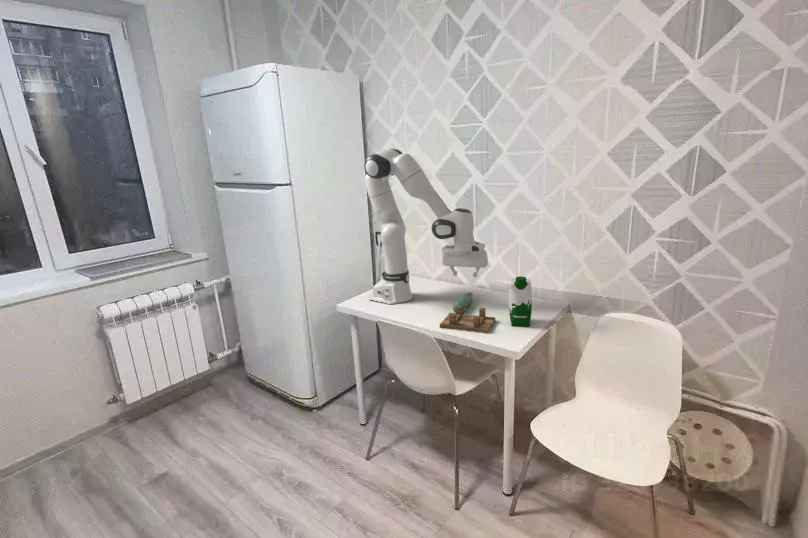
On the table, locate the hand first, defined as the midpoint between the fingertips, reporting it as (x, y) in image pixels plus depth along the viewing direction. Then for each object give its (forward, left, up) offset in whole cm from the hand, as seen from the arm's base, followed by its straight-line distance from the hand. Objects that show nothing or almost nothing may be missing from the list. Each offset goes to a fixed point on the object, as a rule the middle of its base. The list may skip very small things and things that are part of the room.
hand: (465, 275), depth 187 cm
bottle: (0, +2, -15) cm, 15 cm away
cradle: (+6, -18, -15) cm, 24 cm away
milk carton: (+26, -11, -16) cm, 32 cm away
